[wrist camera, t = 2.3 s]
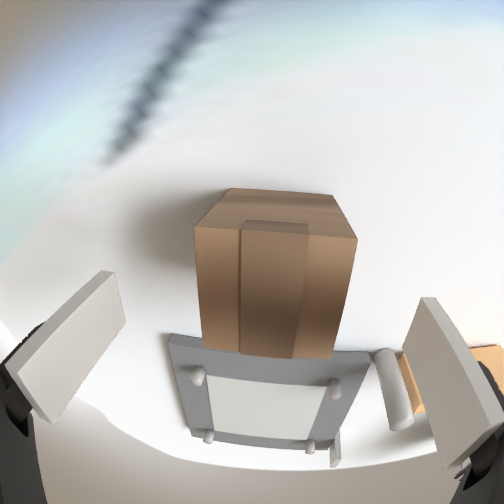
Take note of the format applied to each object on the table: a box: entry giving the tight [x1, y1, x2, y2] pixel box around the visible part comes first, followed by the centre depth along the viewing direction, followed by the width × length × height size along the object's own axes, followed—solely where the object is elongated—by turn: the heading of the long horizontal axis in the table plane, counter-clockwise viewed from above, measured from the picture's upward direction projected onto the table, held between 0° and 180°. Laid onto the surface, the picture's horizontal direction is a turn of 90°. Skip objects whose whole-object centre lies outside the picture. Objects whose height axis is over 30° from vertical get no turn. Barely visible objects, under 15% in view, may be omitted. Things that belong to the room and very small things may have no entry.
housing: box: [168, 334, 415, 467], centre depth 21 cm, size 16×18×7 cm
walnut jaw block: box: [194, 188, 358, 359], centre depth 14 cm, size 6×6×7 cm
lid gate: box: [398, 345, 504, 414], centre depth 17 cm, size 12×2×6 cm, turn 89°
